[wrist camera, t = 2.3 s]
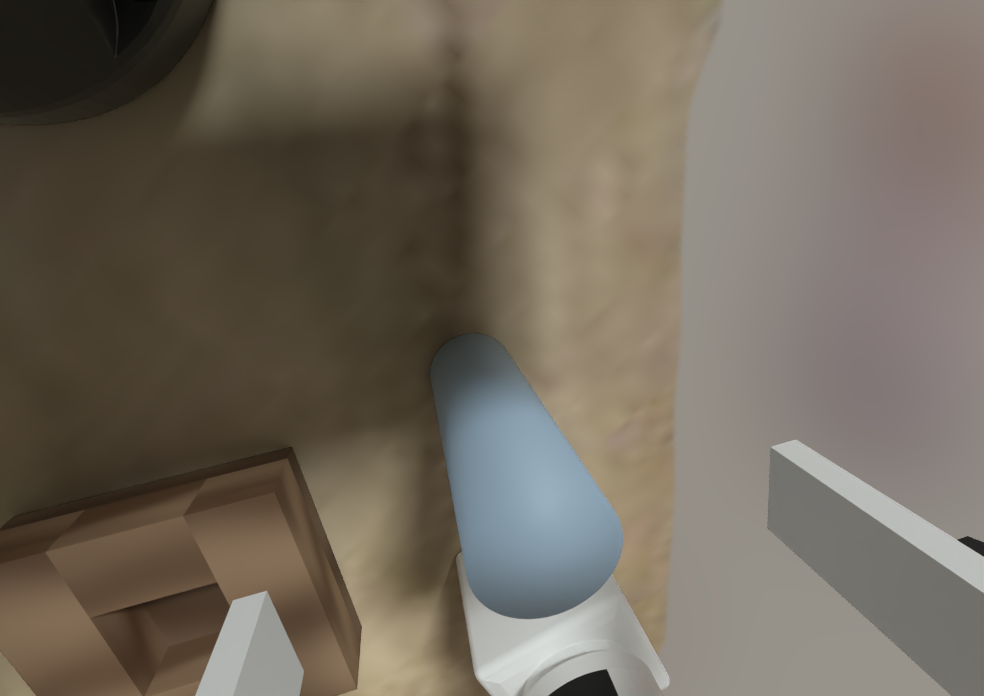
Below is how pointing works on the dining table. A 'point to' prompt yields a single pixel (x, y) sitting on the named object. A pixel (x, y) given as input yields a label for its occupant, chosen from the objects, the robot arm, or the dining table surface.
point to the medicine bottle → (563, 649)
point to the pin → (518, 488)
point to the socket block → (172, 582)
